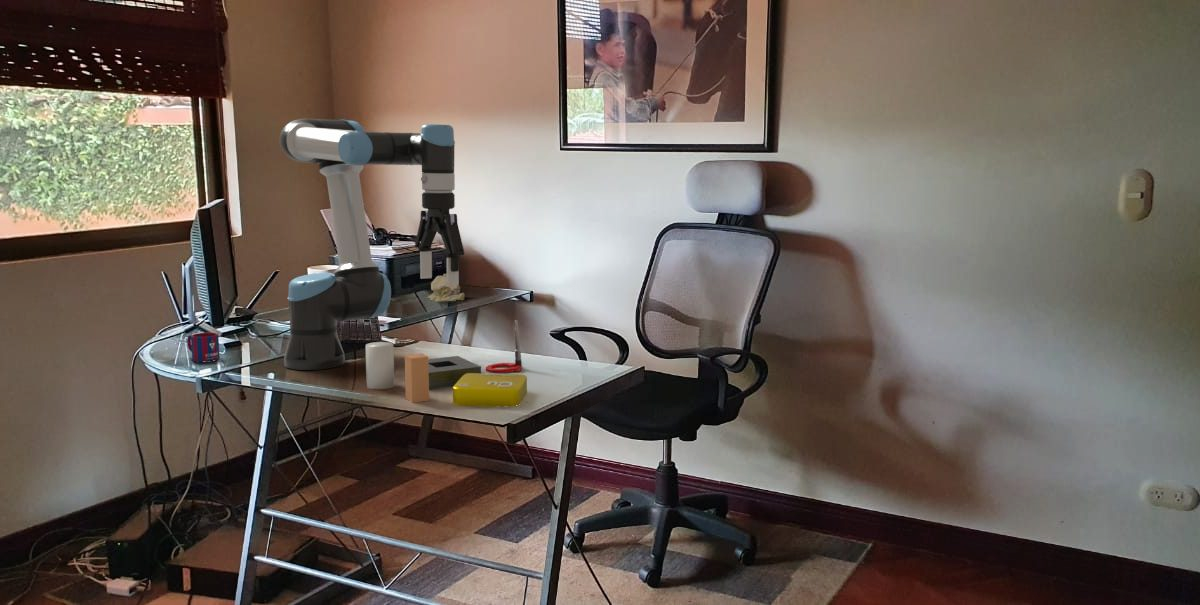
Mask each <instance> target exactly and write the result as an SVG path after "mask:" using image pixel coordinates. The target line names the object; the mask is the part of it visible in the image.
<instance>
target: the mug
mask: <svg viewBox="0 0 1200 605" xmlns="http://www.w3.org/2000/svg"><path fill="white" fill-rule="evenodd" d="M219 340H220V338H219V333H217V332H209V331H207V332H197V333H193V334H189V335H188V336H187V341H186V342H187V347H188V350H189V351H190V352H191V359H192V360H193V361H199V362H198V363H204V362H203V361H213V360H217V361H219V360H220V359H219V358H221V357H220V356H221V355H220V341H219ZM218 359H219V360H218ZM192 360H191V361H192ZM193 361H192V362H193ZM213 362H214V361H213Z"/></svg>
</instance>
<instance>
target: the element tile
mask: <svg viewBox="0 0 1200 605" xmlns="http://www.w3.org/2000/svg"><path fill="white" fill-rule="evenodd" d="M527 393H528V377H527V376H526V375H525V374H523V373H522V374H521V373H520V374H518V373H517V374H516V373H489V372H488V373H487V372H486V373H483V372H481V373H467V374H465V375H463V376H462V377H461V378H460V380H459V381H458V382H457V383H456V384H455V385H454V386H452V404H453V405H454V406H460V407H461V406H462V407H493V408H494V407H496V406H500V408H505V407H504V406H516V405H519V404H520V403H521V404H522V402H523V401H524V399H523V398H525V397H526V395H527ZM521 401H522V402H521ZM521 404H520V405H521ZM520 405H519V406H520ZM502 406H503V407H502ZM516 407H517V406H516Z"/></svg>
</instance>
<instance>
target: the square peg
mask: <svg viewBox="0 0 1200 605" xmlns="http://www.w3.org/2000/svg"><path fill="white" fill-rule="evenodd" d="M428 359H429V356H428V355H426V354H424V353H413V354H404V377H405V378H404V383H405V384H404V385H405V390H404V391H405V399H406V400H407V401H409V402H411V403H419V402H425V401H430V389H429V364H428Z"/></svg>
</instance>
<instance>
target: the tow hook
mask: <svg viewBox="0 0 1200 605" xmlns="http://www.w3.org/2000/svg"><path fill="white" fill-rule="evenodd" d="M518 321H519V320H516V319H515V320H514V328H513V329H514V330H513V331H514V348H515V350H514V357H515V358H514V359H515V360H514V363H513V362H500V363H499V362H498V363H493V364H489V365H486V366H485V371H486V373H487V372H488V373H490V374H493V373H494V374H497V373H498V374H507V373H510V372H517V373H521V371H522V368H523V367H522V366H523V364H522V355H521V354H522V351H521V344H520V328H519V323H518ZM504 367H505V368H504Z"/></svg>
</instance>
